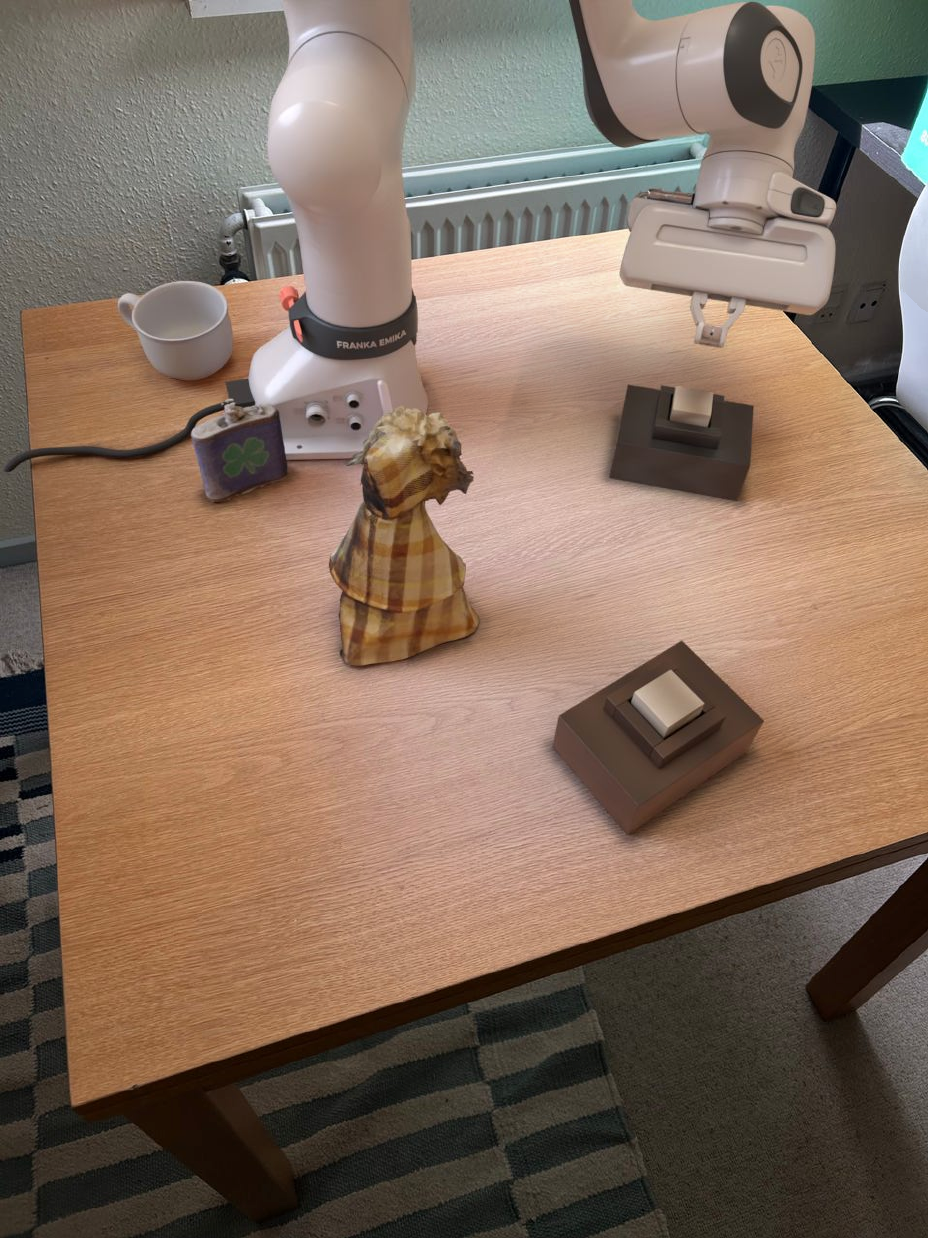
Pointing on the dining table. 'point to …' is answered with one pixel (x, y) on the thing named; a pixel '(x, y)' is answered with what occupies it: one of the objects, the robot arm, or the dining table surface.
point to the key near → (667, 703)
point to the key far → (691, 406)
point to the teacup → (181, 328)
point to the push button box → (653, 739)
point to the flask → (240, 450)
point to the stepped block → (683, 445)
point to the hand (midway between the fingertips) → (708, 344)
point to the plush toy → (402, 544)
